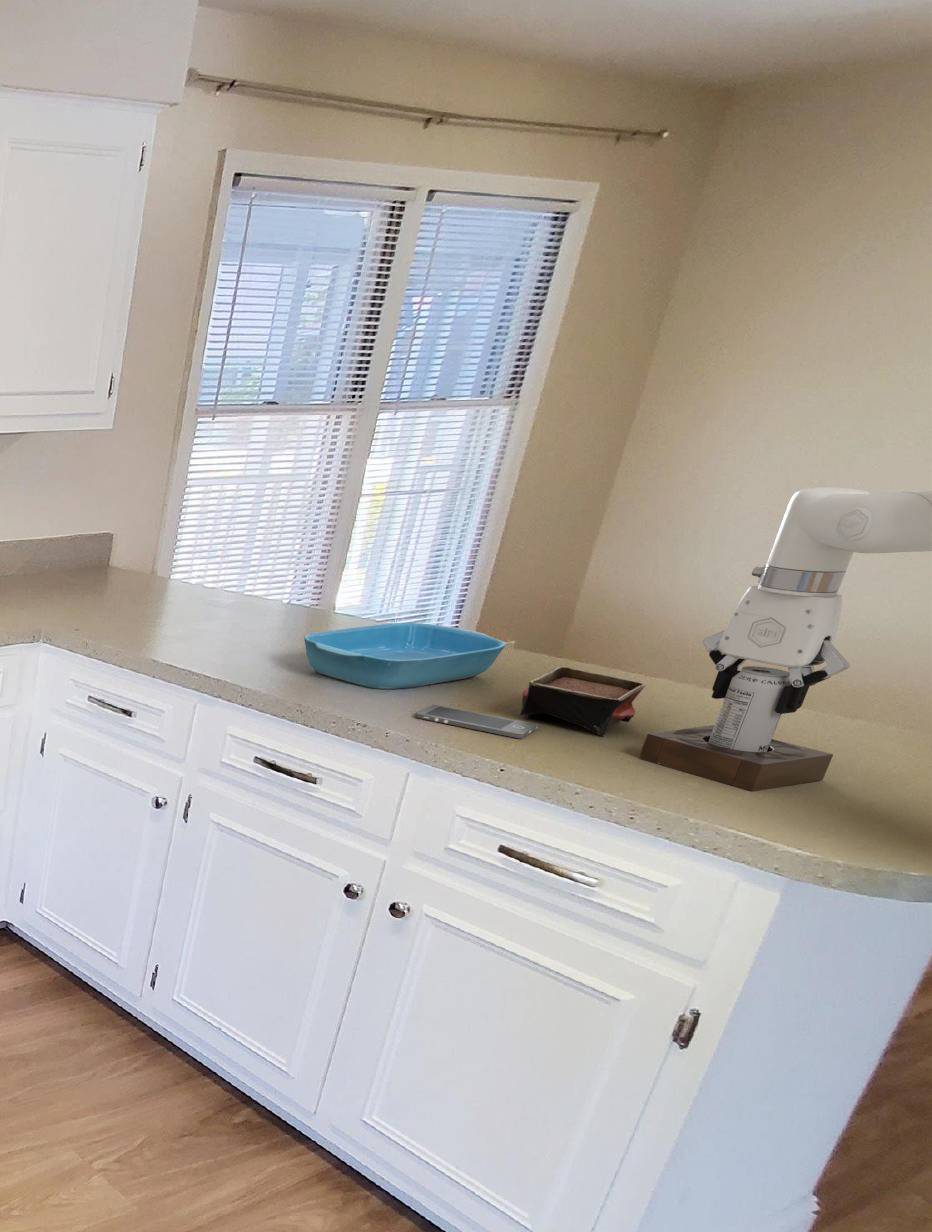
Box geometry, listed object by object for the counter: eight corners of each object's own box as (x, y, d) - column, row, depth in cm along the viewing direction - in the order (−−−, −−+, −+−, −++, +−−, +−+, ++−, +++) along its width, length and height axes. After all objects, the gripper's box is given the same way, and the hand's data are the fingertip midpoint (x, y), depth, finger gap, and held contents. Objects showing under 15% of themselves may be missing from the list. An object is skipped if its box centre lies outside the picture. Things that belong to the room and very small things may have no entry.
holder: (822, 780, 145) (833, 754, 144) (751, 791, 142) (762, 764, 140) (706, 749, 158) (715, 724, 156) (638, 758, 155) (647, 733, 153)
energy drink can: (764, 779, 146) (804, 678, 140) (707, 772, 149) (744, 673, 143) (749, 766, 151) (787, 668, 145) (694, 759, 154) (730, 663, 148)
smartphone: (412, 716, 175) (413, 712, 174) (431, 707, 179) (432, 703, 179) (520, 738, 163) (522, 734, 163) (537, 728, 168) (539, 724, 167)
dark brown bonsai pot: (644, 736, 169) (661, 676, 167) (605, 740, 160) (623, 677, 158) (537, 720, 181) (552, 664, 179) (495, 723, 172) (510, 664, 170)
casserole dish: (377, 699, 185) (386, 660, 182) (273, 669, 205) (280, 634, 202) (522, 678, 195) (532, 641, 192) (409, 651, 215) (417, 618, 212)
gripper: (705, 572, 147) (663, 691, 153) (864, 594, 131) (811, 725, 138) (743, 569, 149) (700, 686, 155) (905, 590, 133) (850, 720, 139)
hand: (752, 703), depth 146 cm, fingers open, 6 cm apart
